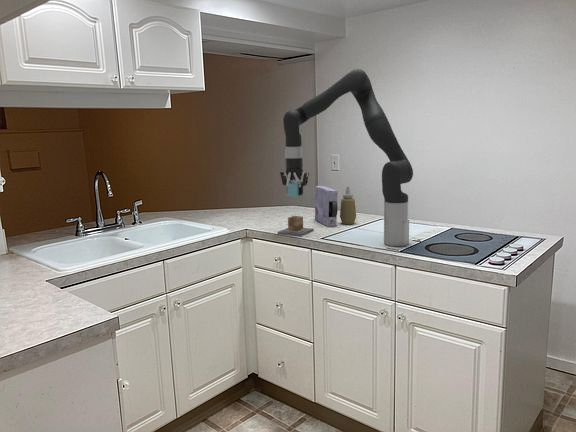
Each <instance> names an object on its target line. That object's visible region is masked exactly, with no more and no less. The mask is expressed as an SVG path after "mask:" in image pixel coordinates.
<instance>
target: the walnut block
mask: <svg viewBox="0 0 576 432" xmlns="http://www.w3.org/2000/svg"><path fill="white" fill-rule="evenodd" d="M287 228H288V231H296V232H298V231H301V230H303V228H304V216H300V215H299V216H298V215H292V216H289V217H287Z"/></svg>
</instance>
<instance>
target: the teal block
mask: <svg viewBox="0 0 576 432" xmlns="http://www.w3.org/2000/svg"><path fill="white" fill-rule="evenodd" d="M298 187H299V186H298V183H297V182H296V181H292V183H287V186H286V195H287V198H299V197H303V195H304V193H303V194H302V195H299V190H298Z"/></svg>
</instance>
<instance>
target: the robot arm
mask: <svg viewBox="0 0 576 432" xmlns="http://www.w3.org/2000/svg"><path fill="white" fill-rule="evenodd" d="M348 93H351V94H352V96H353V97H354V99H355V100H356V102H357V104H358V106H359V108H360V110H361V115H362V120H363V124H364V126H365V129H366V131H367V134H368V136H369V138H370V139H371V141H372V142H373V143H374V144H375V145H376V146H377V147H378V148H379V149H380V150H381V151H382V152H383V153H384V154H385V155H386V157H387V158H388V160H389V161H388V162H385V163H384V165H383V166H382V170H381V190H382V191H381V192H382V195H383V200H384V201H383V202H384V203H383V211H384V212H383V244H384V245H386V246H391V247H406V246H407V245H408V244H409V243H410V219H409V217H408V216H409V195H408V194H407V193H406V192H403V191H402V184H408V183H410V182H411V181H412V179H413V176H414V170H413V167H412V164H411V162H410V160H409V158H408V157H407V155H406V154H405V152H404V150H403V149H402V146H401V145H400V144H399V141H398V138H397V136H396V135H395V133H394V131H393V129H392V126H391V124H390V121H389V119H388V117H387V115H386V113H385V111H384V109H383V108H382V106H381V105H380V103H379V102H378V101H377V98H376V95H375V92H374V89H373V85H372V83H371V80H370V77H369V76H368V74H367V72H366V71H365V70H363V69H361V68H354V69H352V70H351V71H349V72H348V73H346V74H345V75H344V76H343V77H341V78H340V79H339V80H338V81H336V82H335V83H334V84H332V85H331V86H330V87H328V88H327V89H326V90H324V91H323V92H321V93H319V94H318V95H316V96H314V97H312V98H311V99H309V100H307V101H306V102H304V103H303V104H302V106H300V107H298V108H296V109H294V110H289V111H286V112H285V114H284V115H283V119H282V122H283V124H282V125H283V131H284V135H285V150H284V151H285V153H284V154H285V157H284V158H285V168H286V169H285V171H280V173H279V174H280V179H281V183H282V185H283V186H286V187H287V183H292V182H294V181H295V182H297V183H298V186H299V187H298V190H299V195H302V194H303V195H304V187H305V186H307V185H308V181H309V176H310V172H309V171H308V172H306V171H304V169H303V164H304V163H303V146H302V144H303V141H302V135H301V133H300V126H301V125H302V124H305V123H306V122H307V121H309V120H310V119H312V118H314V117H316V116H319V114H321V113H323V112H325V111H326V110H327V109H329V107H331V106H332V105H333V104H334V103H335V101H337V100H338V99H340V98H341V97H342V96H344V95H346V94H348Z"/></svg>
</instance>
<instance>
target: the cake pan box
mask: <svg viewBox="0 0 576 432" xmlns="http://www.w3.org/2000/svg"><path fill="white" fill-rule="evenodd" d="M314 190H315V195H314V196H315V197H314V201H315V202H314V220H315V221H317V222H318V223H320V224H321V225H324V226H326V227H327V228H332V227H337V226H338V225H337V224H338V223H337V220H338V219H337V216H338V209H339V207H338V190H336V189H332V188H330V187H327V186H325V185H316V186H315V189H314Z"/></svg>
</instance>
